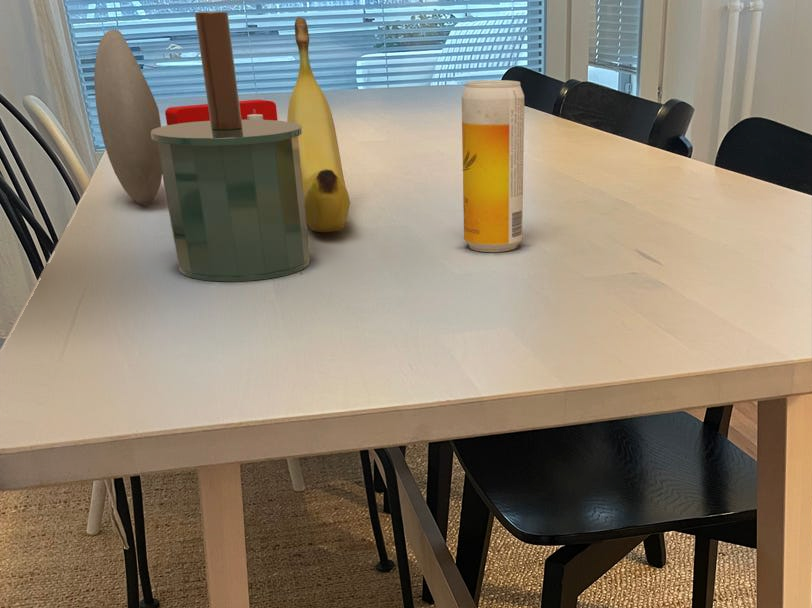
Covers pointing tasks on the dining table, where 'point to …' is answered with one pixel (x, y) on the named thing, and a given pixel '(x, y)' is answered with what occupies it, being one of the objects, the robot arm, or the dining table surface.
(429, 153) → the dining table surface
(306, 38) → the banana
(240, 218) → the storage jar
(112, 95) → the grey-brown flattened oval
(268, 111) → the play button
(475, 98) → the beer can
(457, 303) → the dining table surface
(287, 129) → the jar lid
